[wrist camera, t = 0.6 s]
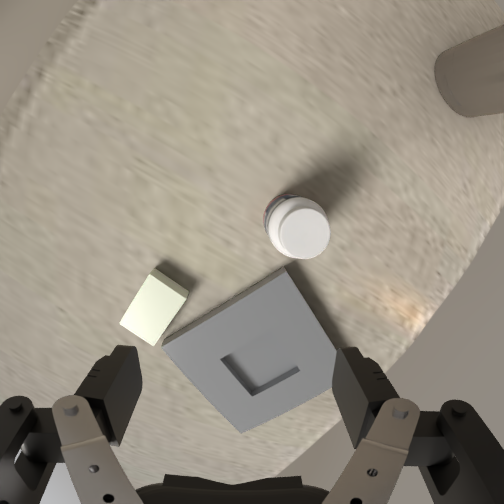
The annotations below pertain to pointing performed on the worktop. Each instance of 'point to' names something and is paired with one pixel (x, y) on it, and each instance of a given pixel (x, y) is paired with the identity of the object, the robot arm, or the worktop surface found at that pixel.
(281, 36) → the worktop surface
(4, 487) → the robot arm
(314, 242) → the pill bottle
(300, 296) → the grey square slab
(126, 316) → the soap bar
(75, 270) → the worktop surface
